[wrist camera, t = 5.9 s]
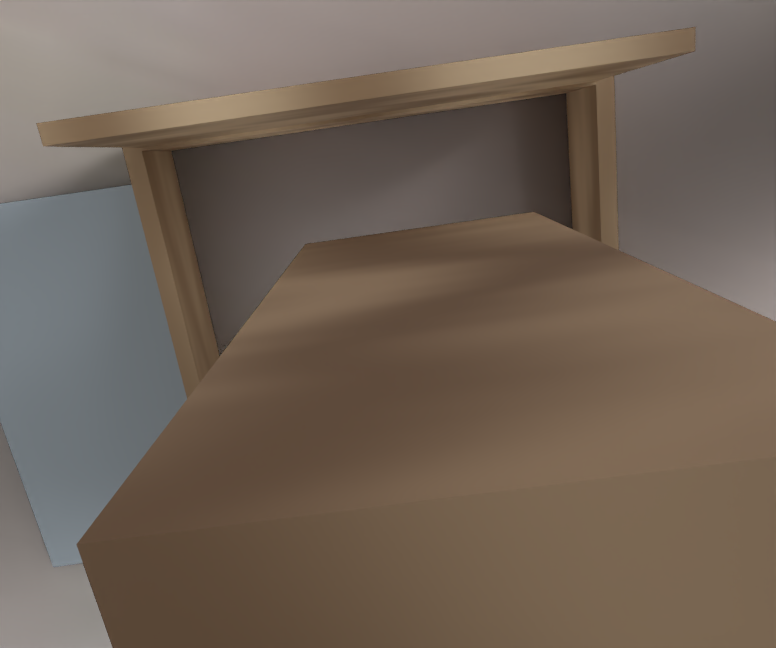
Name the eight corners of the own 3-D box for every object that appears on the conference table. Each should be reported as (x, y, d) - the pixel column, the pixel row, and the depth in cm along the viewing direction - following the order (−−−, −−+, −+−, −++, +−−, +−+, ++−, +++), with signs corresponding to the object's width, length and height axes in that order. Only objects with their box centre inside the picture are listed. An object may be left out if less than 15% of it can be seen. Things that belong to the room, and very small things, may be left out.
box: (538, 211, 13) (1069, 444, 3) (565, 649, 16) (843, 1418, 6) (300, 244, 13) (38, 571, 3) (379, 671, 16) (374, 1453, 7)
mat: (138, 183, 22) (134, 184, 22) (229, 537, 27) (227, 542, 26) (-68, 213, 22) (-75, 214, 22) (57, 561, 27) (53, 567, 27)
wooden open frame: (581, 73, 22) (722, 22, 13) (599, 515, 27) (706, 683, 19) (151, 136, 22) (10, 127, 13) (255, 563, 27) (203, 753, 19)
